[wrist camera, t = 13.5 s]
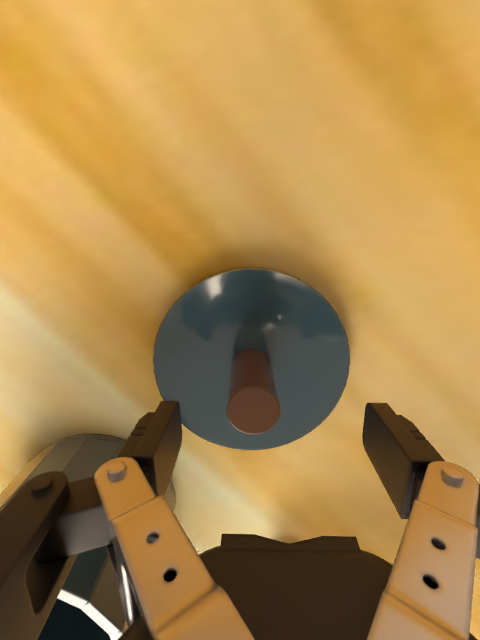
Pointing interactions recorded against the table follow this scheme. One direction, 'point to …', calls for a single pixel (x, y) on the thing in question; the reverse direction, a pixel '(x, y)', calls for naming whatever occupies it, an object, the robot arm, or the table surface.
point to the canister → (90, 566)
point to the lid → (252, 358)
